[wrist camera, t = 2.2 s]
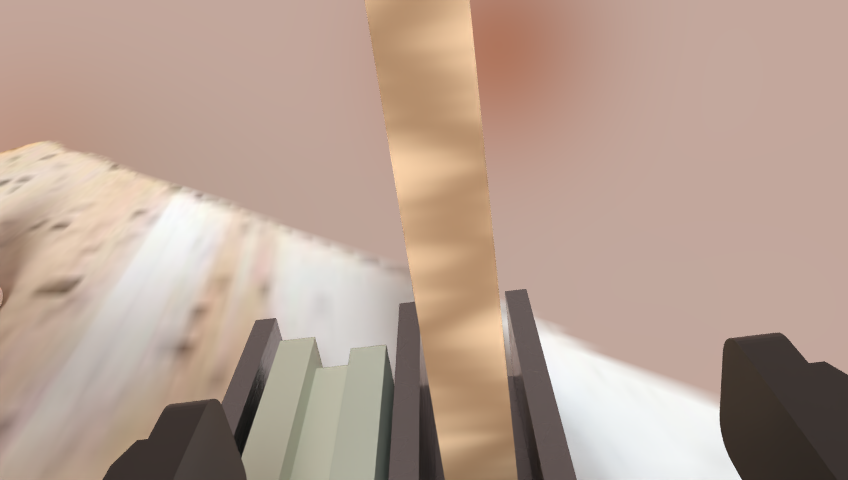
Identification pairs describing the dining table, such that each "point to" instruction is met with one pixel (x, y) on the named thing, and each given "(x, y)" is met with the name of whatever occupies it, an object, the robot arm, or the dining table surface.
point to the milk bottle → (1, 296)
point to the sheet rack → (412, 407)
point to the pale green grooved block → (323, 417)
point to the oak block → (447, 225)
